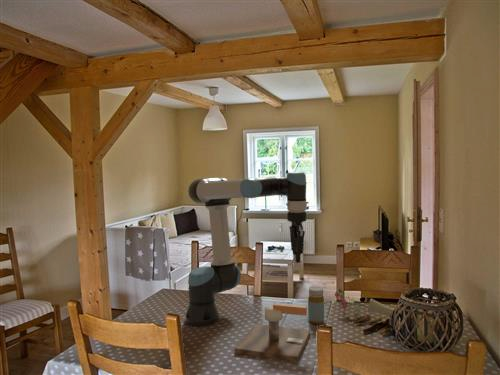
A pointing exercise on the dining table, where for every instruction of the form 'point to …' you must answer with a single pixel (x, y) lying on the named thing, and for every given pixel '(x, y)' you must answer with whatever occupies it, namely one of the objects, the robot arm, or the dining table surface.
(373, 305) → the flower vase
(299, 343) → the post base
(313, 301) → the bottle
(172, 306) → the dining table surface
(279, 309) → the lever switch
